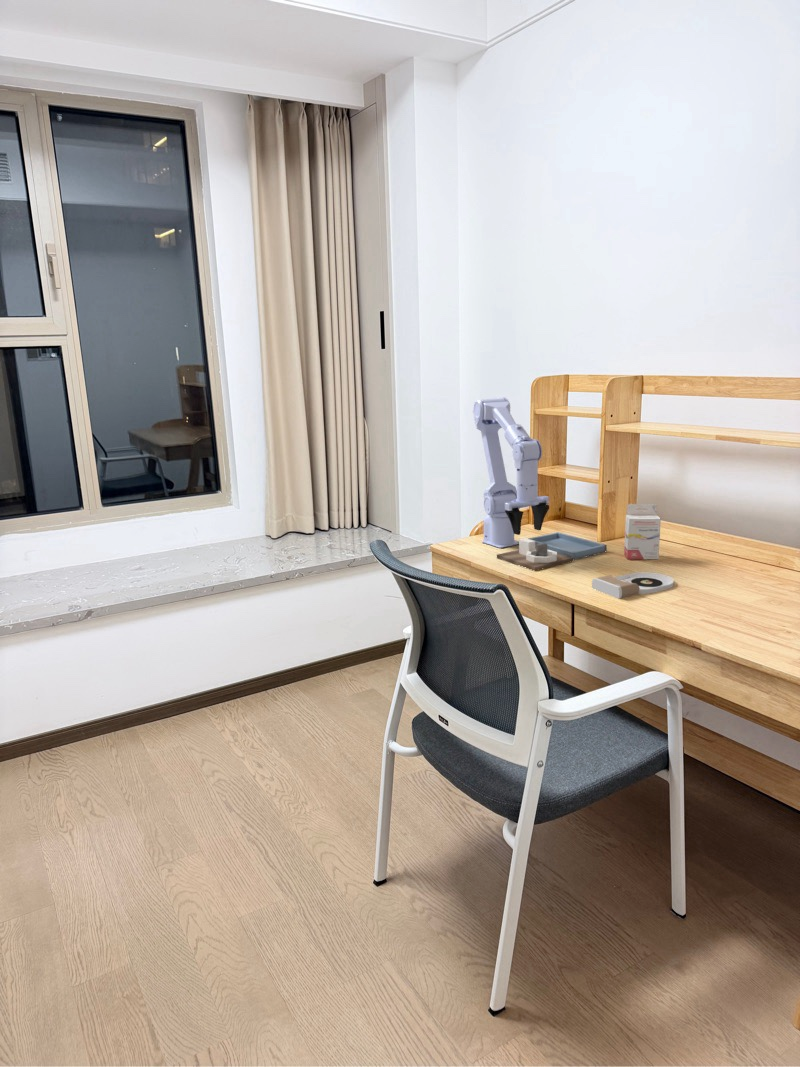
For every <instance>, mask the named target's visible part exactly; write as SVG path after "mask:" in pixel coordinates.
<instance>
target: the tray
mask: <svg viewBox="0 0 800 1067" xmlns="http://www.w3.org/2000/svg"><path fill="white" fill-rule="evenodd" d="M527 539H530V540H533V541H535V547H536V544H538V543H545V544H547V550H552V551H555V552H557V553H558V554H562V555H565V556H568V557H572V558H573V561H575V560H579V559H583V558H587V557H591V556H590V555H592V556H595V555H594V554H596V555H599V554H598V553H600V554H603V553H602V552H604V553H606V552H605V551H607V550H608V547H607V546H608V545H607V544H604V543H600V542H597V541H593V540H588V539H585V538H581V537H579V536H578V537H577V536H574V535H571V534H566V533H562V532H560V531H556V532H552V533H547V534H543V535H538V536H533V537H528V538H527ZM607 552H608V551H607ZM586 556H587V557H586ZM582 557H583V558H582Z"/></svg>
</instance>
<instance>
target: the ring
mask: <svg viewBox="0 0 800 1067" xmlns="http://www.w3.org/2000/svg"><path fill="white" fill-rule="evenodd" d="M518 542H519V544H518V550H519V553H520V554H523V555H526V560H528V561H531V562H534V563H549V562H553V561H557V552H555V551H552V550H547V556H536V549H535V541H533V540H530V539H528V538H526V537H525V538H521V539H518Z"/></svg>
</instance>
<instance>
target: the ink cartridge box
mask: <svg viewBox="0 0 800 1067" xmlns="http://www.w3.org/2000/svg"><path fill="white" fill-rule="evenodd" d="M638 509H640V510H638ZM642 509H646V510H642ZM657 510H658V505H657V504H656V503H654V504H651V503H646V504H644V503H643V504H642V503H640V504H639V503H635V504H634V503H633V504H630V503H629V504H627V505H626V515H625V524H624V530H625V531H624V549H623V550H624V551H623V555H624V556H625V558H626V559H627V560H631V559H658V560H659V555H660V541H661V540H660V538H661V523H662V522H661V518H660V516H658V514H657Z"/></svg>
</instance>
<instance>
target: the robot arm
mask: <svg viewBox="0 0 800 1067" xmlns="http://www.w3.org/2000/svg"><path fill="white" fill-rule="evenodd" d="M473 403H474V404H473V410H472V413H473V418H474V419H473V420H474V424H475V429H477V430H479V431H480V434H481V439H482V445H483V450H484V455H485V460H486V465H487V472H488V475H489V476H488V477H489V482H490V484H489V486H488V487H486V489H485V490H484V492H483V508H484V511H485V513H486V515H485V517H484V518H483V519H484V520H483V539H482V540H481V542H482V543H484V544H487V545H490V546H493V547H497V548H499V549H502V548H503V549H504V548H507V547H511V546H517V545H519V540H515V535H517V536H519V535H521V532H522V531H521V530H522V529H521V528H522V520H523V515H524V511H521V510H520V509H522V508H528V507H531V511H532V518H533V529H534V530H536V531H541V530H542V527H543V524H544V520H545V517H546V515H547V513H548V511H549V510H550V496H547V495H541V496H540V495H539V492H538V489H539V486H538V483H539V480H538V479H539V478H538V474H539V469H538V467H539V461H541V459H542V456H543V455H542V454H543V450H542V449H543V448H542V445H541V442H540V441H539V439H534V438H531V437H530V435H529V434H528V432H527V431H526V430H525V429H524V427H523V426H522V425H521V424H519V423H516V421H515V419H514V418H513V416H512V414H511V403H510V401H509V399H508V398H507V397H503V396H502V397H499V398H497V397H495V398H484V399H483V398H482V399H481V398H477V399H475V402H473ZM500 429H502V430H504V431H505V432H504V437H505V440H506V441H507V443H508V444H509V446H510V447H511V449H512V457H513V460H514V468H515V469H516V486H515V485H513V484H512V483H510V482H508V480H507V479H508V478H507V473H506V469H505V468H506V467H505V464H504V458H503V452H502V448H501V447H502V446H501V442H500V436H499V430H500ZM538 495H539V496H538Z"/></svg>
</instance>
